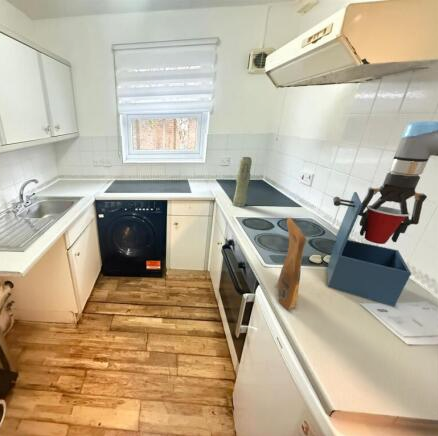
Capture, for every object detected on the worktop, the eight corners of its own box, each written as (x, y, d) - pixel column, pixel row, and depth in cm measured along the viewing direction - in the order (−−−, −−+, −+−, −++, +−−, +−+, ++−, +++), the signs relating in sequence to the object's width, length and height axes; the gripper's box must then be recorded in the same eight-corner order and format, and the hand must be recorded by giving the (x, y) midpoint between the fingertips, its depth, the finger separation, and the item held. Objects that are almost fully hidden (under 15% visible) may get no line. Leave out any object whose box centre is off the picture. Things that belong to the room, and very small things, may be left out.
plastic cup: (395, 239, 85) (409, 208, 80) (396, 251, 78) (412, 217, 73) (356, 230, 92) (367, 201, 87) (354, 240, 84) (366, 209, 80)
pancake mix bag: (274, 310, 80) (294, 236, 69) (272, 277, 96) (287, 214, 85) (297, 316, 78) (321, 240, 67) (291, 282, 94) (309, 216, 83)
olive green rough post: (243, 202, 182) (251, 156, 169) (247, 207, 171) (255, 158, 158) (231, 202, 183) (238, 156, 170) (234, 207, 173) (241, 158, 159)
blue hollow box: (384, 280, 95) (398, 250, 89) (394, 306, 81) (411, 273, 76) (327, 265, 104) (337, 237, 99) (328, 286, 91) (339, 256, 86)
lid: (356, 192, 91) (335, 188, 94) (362, 205, 77) (337, 200, 81) (338, 236, 99) (319, 232, 102) (341, 255, 85) (318, 249, 89)
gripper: (447, 175, 73) (415, 240, 82) (360, 168, 83) (339, 226, 92) (458, 180, 67) (422, 250, 76) (363, 171, 78) (341, 233, 87)
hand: (377, 237), depth 84 cm, fingers closed on plastic cup, 8 cm apart
